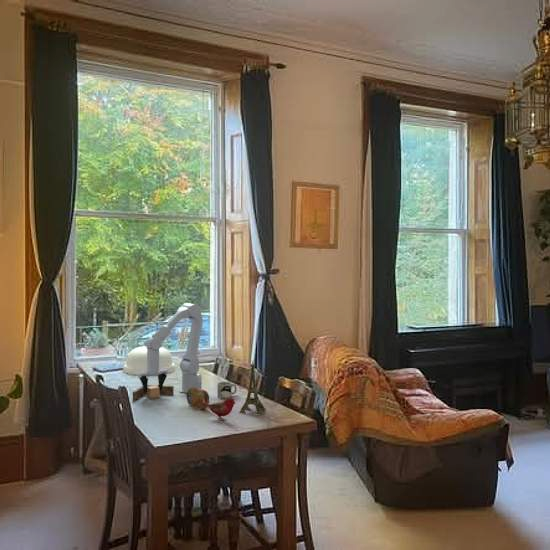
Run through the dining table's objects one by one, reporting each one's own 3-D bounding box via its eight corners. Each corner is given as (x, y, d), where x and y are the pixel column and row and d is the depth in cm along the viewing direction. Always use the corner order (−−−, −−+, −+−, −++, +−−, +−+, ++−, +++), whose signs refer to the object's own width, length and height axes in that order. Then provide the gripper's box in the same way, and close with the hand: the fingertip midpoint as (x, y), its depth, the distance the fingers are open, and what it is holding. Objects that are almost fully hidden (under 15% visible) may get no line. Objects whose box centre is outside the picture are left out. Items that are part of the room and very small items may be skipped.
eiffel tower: (238, 413, 241) (238, 356, 240) (242, 407, 251) (243, 352, 250) (262, 415, 239) (262, 357, 239) (265, 408, 250) (266, 353, 249)
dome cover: (130, 365, 346) (130, 342, 345) (178, 365, 346) (179, 343, 346) (116, 375, 314) (116, 351, 313) (169, 376, 314) (170, 351, 314)
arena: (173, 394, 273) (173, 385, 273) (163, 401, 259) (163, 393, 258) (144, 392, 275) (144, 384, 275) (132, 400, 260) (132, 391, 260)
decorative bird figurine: (233, 423, 226) (234, 399, 226) (198, 417, 235) (198, 393, 235) (237, 421, 229) (237, 397, 229) (202, 415, 237) (202, 392, 237)
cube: (155, 394, 271) (155, 385, 270) (159, 396, 267) (159, 387, 267) (146, 396, 268) (146, 386, 268) (150, 398, 264) (150, 388, 264)
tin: (186, 404, 255) (186, 386, 255) (192, 403, 257) (192, 385, 257) (204, 411, 244) (204, 392, 243) (210, 410, 246) (210, 391, 245)
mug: (221, 399, 265) (221, 385, 264) (215, 396, 270) (215, 382, 270) (239, 396, 270) (239, 383, 270) (233, 393, 276) (233, 380, 275)
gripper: (142, 365, 259) (142, 394, 260) (170, 362, 268) (170, 390, 269) (136, 363, 265) (136, 391, 265) (164, 359, 274) (163, 387, 274)
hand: (152, 390), depth 267 cm, fingers open, 7 cm apart
